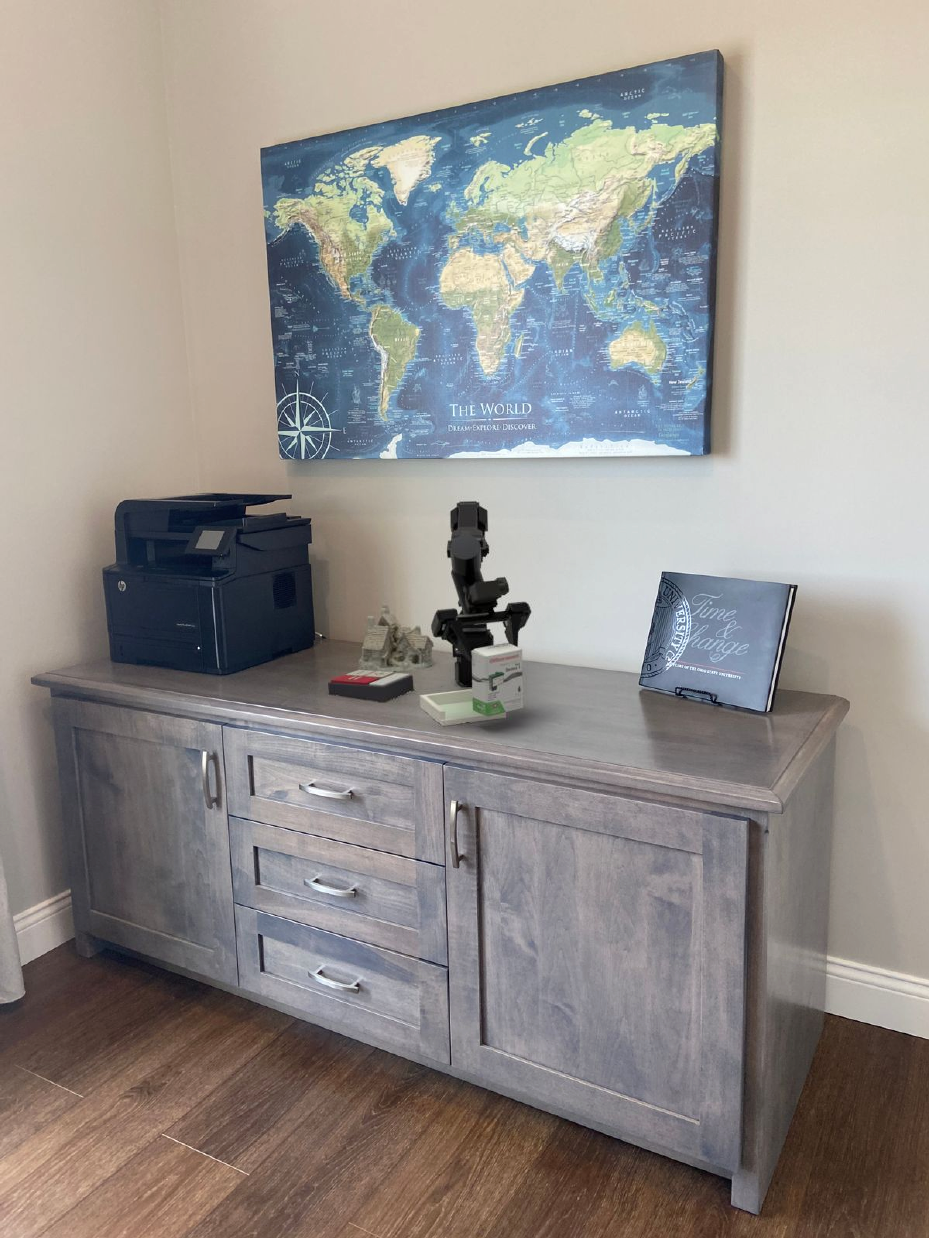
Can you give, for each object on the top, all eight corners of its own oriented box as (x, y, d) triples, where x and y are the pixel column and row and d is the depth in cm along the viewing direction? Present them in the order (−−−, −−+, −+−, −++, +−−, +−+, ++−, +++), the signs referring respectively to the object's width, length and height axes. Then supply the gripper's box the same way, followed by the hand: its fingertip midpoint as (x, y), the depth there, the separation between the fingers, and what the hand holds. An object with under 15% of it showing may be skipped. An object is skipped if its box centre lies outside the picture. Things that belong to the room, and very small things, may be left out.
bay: (480, 699, 192) (480, 687, 192) (506, 717, 180) (506, 705, 179) (420, 707, 188) (419, 695, 188) (442, 726, 175) (441, 713, 175)
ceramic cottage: (347, 669, 221) (349, 607, 219) (391, 658, 235) (393, 599, 232) (399, 681, 213) (401, 616, 210) (441, 669, 226) (444, 608, 223)
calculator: (357, 668, 209) (413, 671, 201) (359, 686, 210) (414, 691, 202) (326, 679, 200) (383, 683, 192) (328, 698, 200) (385, 703, 193)
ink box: (486, 717, 170) (485, 655, 167) (471, 710, 174) (469, 649, 171) (524, 707, 175) (523, 647, 172) (508, 700, 179) (507, 641, 176)
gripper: (433, 567, 171) (455, 637, 163) (526, 559, 178) (552, 627, 170) (422, 602, 180) (442, 670, 172) (511, 594, 186) (534, 659, 178)
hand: (493, 656), depth 173 cm, fingers closed on ink box, 9 cm apart
